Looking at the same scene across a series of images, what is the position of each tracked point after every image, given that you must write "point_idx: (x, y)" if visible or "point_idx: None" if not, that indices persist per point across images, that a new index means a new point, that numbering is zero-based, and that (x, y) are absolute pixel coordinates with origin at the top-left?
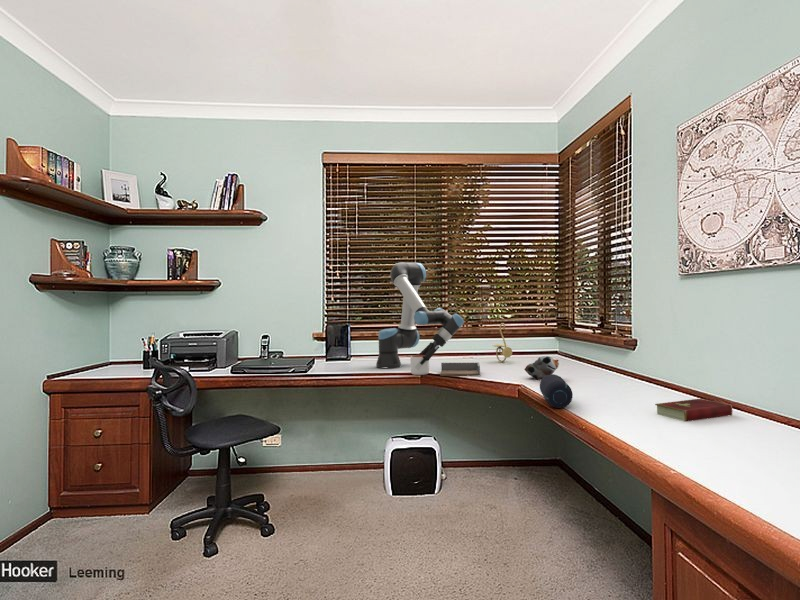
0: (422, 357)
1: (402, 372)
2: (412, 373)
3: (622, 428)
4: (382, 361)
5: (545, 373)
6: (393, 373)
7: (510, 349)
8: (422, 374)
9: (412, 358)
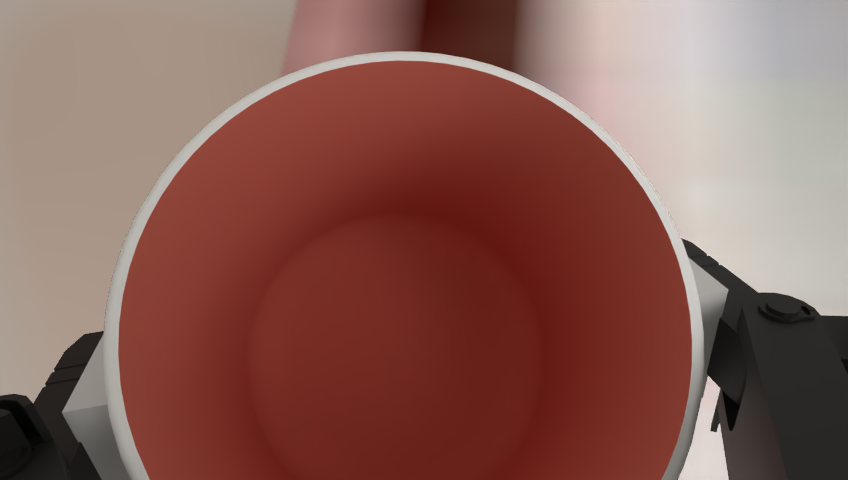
0: (113, 402)
1: (589, 109)
2: (326, 233)
3: None
4: None
5: None
6: (504, 4)
7: None
8: (261, 396)
9: (257, 116)
